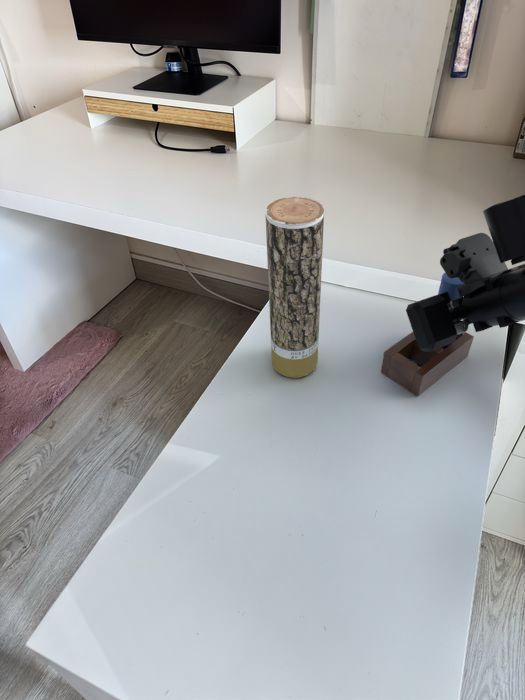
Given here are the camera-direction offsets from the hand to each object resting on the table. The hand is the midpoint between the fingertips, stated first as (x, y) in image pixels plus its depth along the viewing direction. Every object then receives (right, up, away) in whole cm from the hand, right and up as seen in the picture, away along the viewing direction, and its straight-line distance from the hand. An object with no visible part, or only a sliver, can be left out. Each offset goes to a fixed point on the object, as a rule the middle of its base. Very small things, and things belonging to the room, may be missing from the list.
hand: (437, 316), depth 72 cm
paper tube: (-20, -7, +4) cm, 22 cm away
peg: (+1, -6, +3) cm, 7 cm away
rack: (-1, -7, +2) cm, 7 cm away
